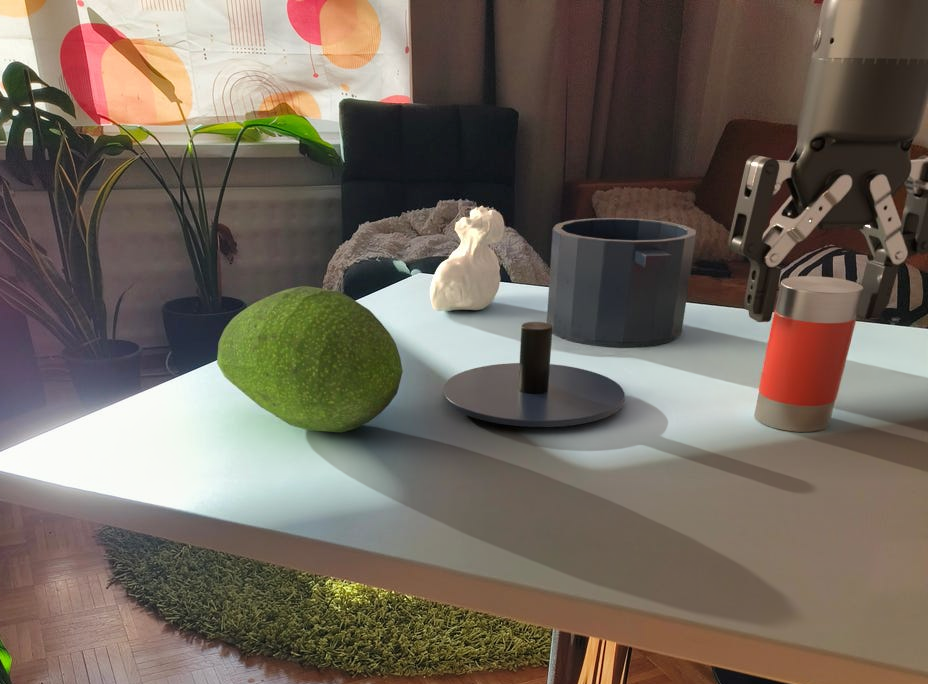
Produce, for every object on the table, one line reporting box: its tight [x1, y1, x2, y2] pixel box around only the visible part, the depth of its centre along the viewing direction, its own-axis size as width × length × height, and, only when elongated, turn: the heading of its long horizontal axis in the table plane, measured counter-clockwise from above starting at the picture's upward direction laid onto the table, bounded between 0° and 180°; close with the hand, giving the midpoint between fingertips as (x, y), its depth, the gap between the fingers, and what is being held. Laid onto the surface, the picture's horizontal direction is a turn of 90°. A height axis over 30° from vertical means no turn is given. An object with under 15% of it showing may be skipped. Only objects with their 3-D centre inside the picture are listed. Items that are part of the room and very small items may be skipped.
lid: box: [442, 321, 626, 428], centre depth 71 cm, size 15×15×6 cm
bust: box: [429, 205, 505, 312], centre depth 96 cm, size 12×8×11 cm
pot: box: [546, 217, 697, 348], centre depth 89 cm, size 14×19×9 cm
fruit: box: [216, 285, 404, 433], centre depth 65 cm, size 15×10×10 cm, turn 53°
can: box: [753, 275, 863, 433], centre depth 67 cm, size 6×6×10 cm
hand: (813, 318), depth 65 cm, fingers open, 8 cm apart
